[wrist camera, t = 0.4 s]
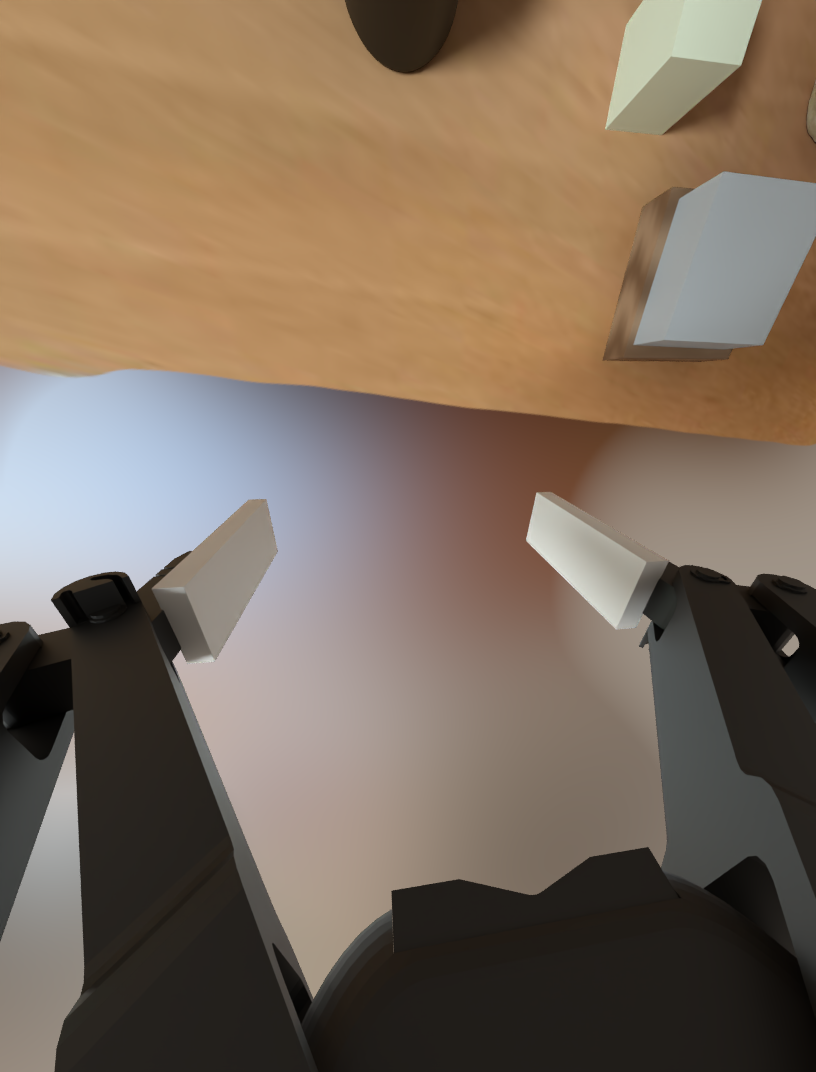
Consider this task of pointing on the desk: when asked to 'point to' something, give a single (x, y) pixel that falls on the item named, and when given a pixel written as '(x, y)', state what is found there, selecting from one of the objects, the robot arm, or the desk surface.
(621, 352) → the bottom slab
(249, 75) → the desk surface
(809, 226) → the top slab
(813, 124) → the decorative item
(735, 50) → the block
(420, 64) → the mug
